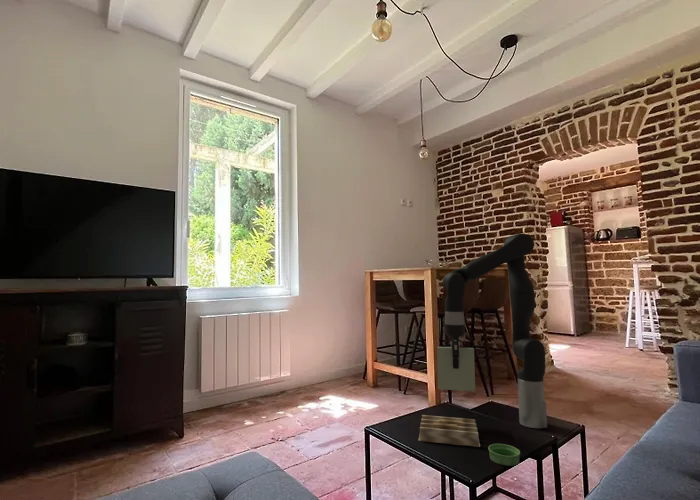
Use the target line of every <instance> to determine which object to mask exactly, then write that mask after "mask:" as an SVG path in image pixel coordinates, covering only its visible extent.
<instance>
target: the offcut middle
mask: <svg viewBox="0 0 700 500" xmlns="http://www.w3.org/2000/svg"><path fill="white" fill-rule="evenodd" d="M439 422H440V423H446V424H457V426H463V421H458V420H447V419H440V420H439Z"/></svg>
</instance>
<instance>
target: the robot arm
mask: <svg viewBox="0 0 700 500" xmlns="http://www.w3.org/2000/svg"><path fill="white" fill-rule="evenodd" d="M534 248H535V240H534V239H533V237H532V236H531V235H529V234H526V233H517V234H513V235H510V236H508V237H507V238H505V240H504V242H503V245H502V246H501V247H500V248H497V249H495V250H493V251H491V252H489V253H487V254H484V255H482V256H479V257H477V258H475V259H473V260H471V261H470V262H468V263H467V264H465V265H464V266H462V267H459V268H458V269H455V270H453V271H451V272H448V273H447V274H445V275H444V276H443V278H442V286H443V287H444V288H445V289H446V290H447V296H446V298H445V299H444V300H445V301H444V313H445V314H444V335H446V336H448V337H451V339H449V344H450V347H451V352H452V358H453V368H454V369H458V368H459V353H460V348H461V339H459V337H463V336H465V335H466V333H465V332H466V331H465V330H466V329H465V328H466V327H465V316H464V315H465V314H464V297H465V290H466V289H465V288H466V284H467V283H468V282H472V281H475V280H477V279H479V278H481V277H483V276H485V275H486V274H488V273H489V272H491V271H493V270H495V269H496V268H499V267H500V266H502V265H504V264H506V268H507V274H508V275H507V277H508V286H509V287H508V288H509V291H508V292H509V300H510V309H511V323H512V332H511V333H512V337H511V338H512V340H511V345H512V346H511V347H512V353H513V355H514V356H515V357H516V358H517V359H519V360H522V361H523V368H522V369H518V371H517V392H518V395H517V396H518V413H519V414H518V415H519V416H518V420H519V425H522V426H523V427H527V428H532V429H543V428H544V429H548V417H547V415H548V414H547V403H546V400H545V387H544V376H545V373H546V350H545V346H544V344H543V342H542V341H540V340H538V339H536V338H532V337H531V333H530V323H531V319H532V317H533V314H534V311H535V308H536V295H535V289H534V285H533V283H532V281H531V279H530V277H529V274H528V273H527V269H526V265H525V257H526V256H527V255H529V254H530V253H532V252H533V250H534ZM454 353H458V355H454Z"/></svg>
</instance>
